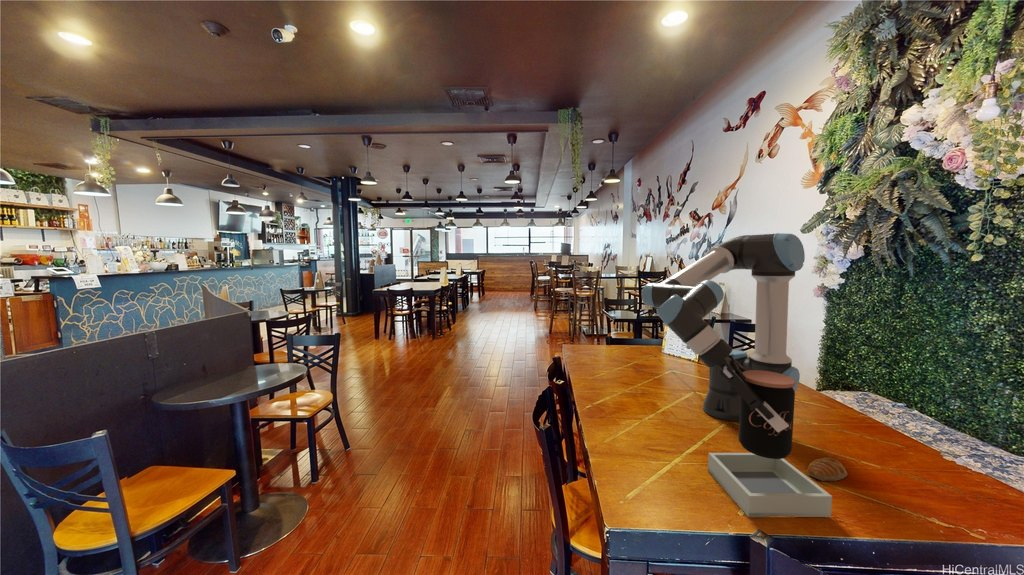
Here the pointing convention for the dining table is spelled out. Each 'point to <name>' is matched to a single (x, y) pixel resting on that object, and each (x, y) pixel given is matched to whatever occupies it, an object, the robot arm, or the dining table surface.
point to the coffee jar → (755, 428)
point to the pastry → (826, 469)
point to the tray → (768, 486)
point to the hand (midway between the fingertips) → (780, 419)
